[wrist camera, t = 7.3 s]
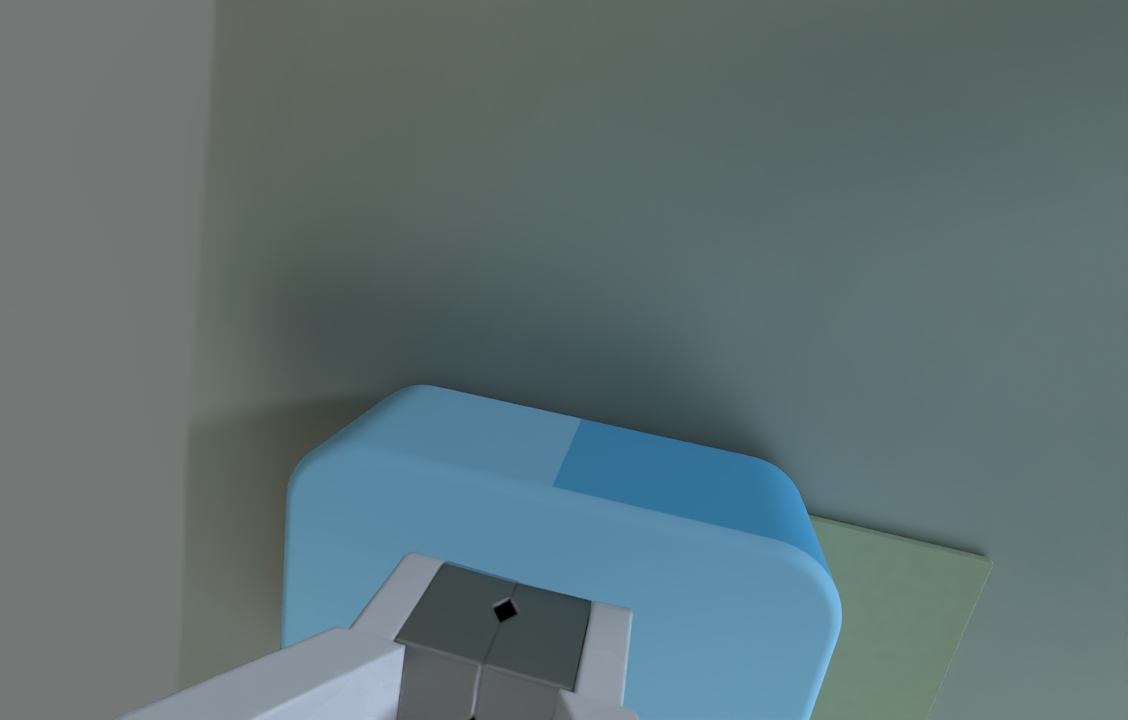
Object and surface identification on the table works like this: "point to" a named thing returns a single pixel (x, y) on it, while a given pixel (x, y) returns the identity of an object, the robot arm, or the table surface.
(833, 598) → the data package
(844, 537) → the mat
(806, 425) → the table surface
